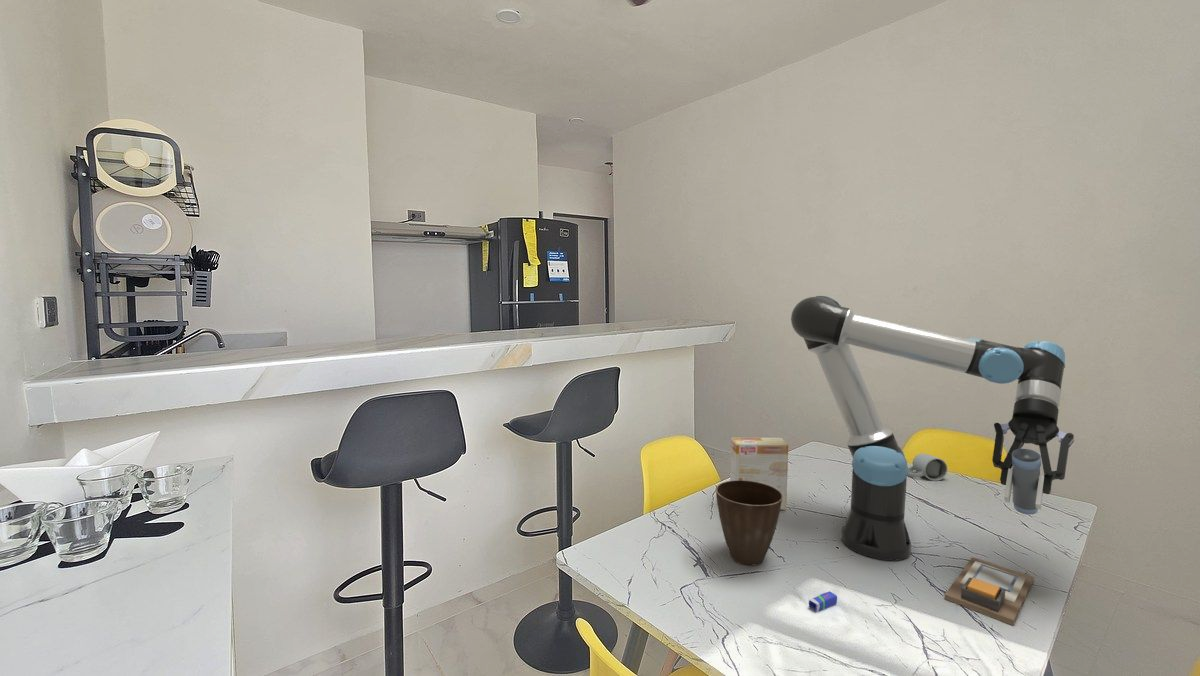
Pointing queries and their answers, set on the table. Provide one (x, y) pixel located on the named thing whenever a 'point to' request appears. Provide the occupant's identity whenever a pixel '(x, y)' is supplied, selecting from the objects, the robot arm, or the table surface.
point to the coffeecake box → (761, 462)
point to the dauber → (1025, 480)
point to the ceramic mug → (928, 467)
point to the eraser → (823, 601)
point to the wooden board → (1008, 580)
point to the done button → (984, 588)
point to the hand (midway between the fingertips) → (1022, 503)
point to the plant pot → (748, 518)
